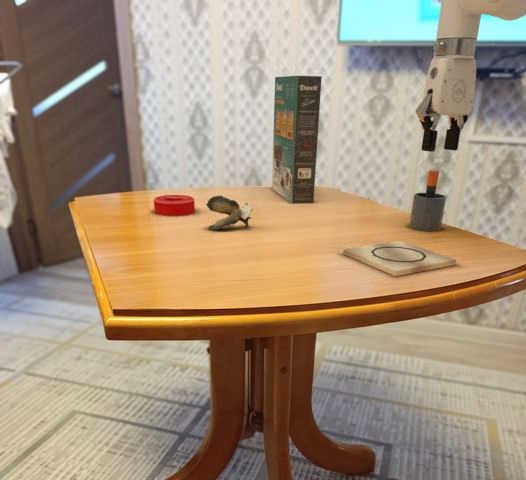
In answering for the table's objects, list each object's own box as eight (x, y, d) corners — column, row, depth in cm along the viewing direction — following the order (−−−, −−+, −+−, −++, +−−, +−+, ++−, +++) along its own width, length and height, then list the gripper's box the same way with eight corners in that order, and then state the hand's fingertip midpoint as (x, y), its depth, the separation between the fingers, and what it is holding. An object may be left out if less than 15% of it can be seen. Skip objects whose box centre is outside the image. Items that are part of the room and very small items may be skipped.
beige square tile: (399, 245, 100) (400, 240, 100) (455, 265, 89) (456, 259, 89) (342, 254, 94) (343, 248, 93) (395, 276, 83) (396, 270, 83)
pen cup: (424, 222, 118) (429, 191, 115) (447, 229, 113) (453, 197, 110) (402, 225, 115) (407, 193, 112) (424, 232, 110) (430, 199, 107)
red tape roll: (160, 217, 118) (159, 203, 116) (150, 208, 125) (149, 195, 124) (200, 214, 121) (199, 200, 120) (188, 206, 129) (187, 193, 128)
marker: (425, 223, 115) (434, 170, 110) (432, 225, 114) (441, 171, 108) (418, 224, 114) (427, 170, 109) (425, 226, 113) (434, 171, 108)
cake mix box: (313, 202, 137) (321, 76, 123) (291, 203, 136) (297, 75, 122) (290, 188, 156) (296, 77, 142) (271, 188, 155) (275, 76, 141)
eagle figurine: (241, 216, 115) (203, 210, 112) (252, 192, 110) (211, 185, 106) (246, 241, 111) (207, 236, 108) (257, 218, 106) (216, 211, 102)
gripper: (437, 47, 92) (422, 153, 100) (500, 52, 100) (481, 150, 108) (407, 50, 98) (396, 150, 106) (469, 54, 105) (454, 147, 113)
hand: (439, 149), depth 107 cm, fingers open, 5 cm apart
